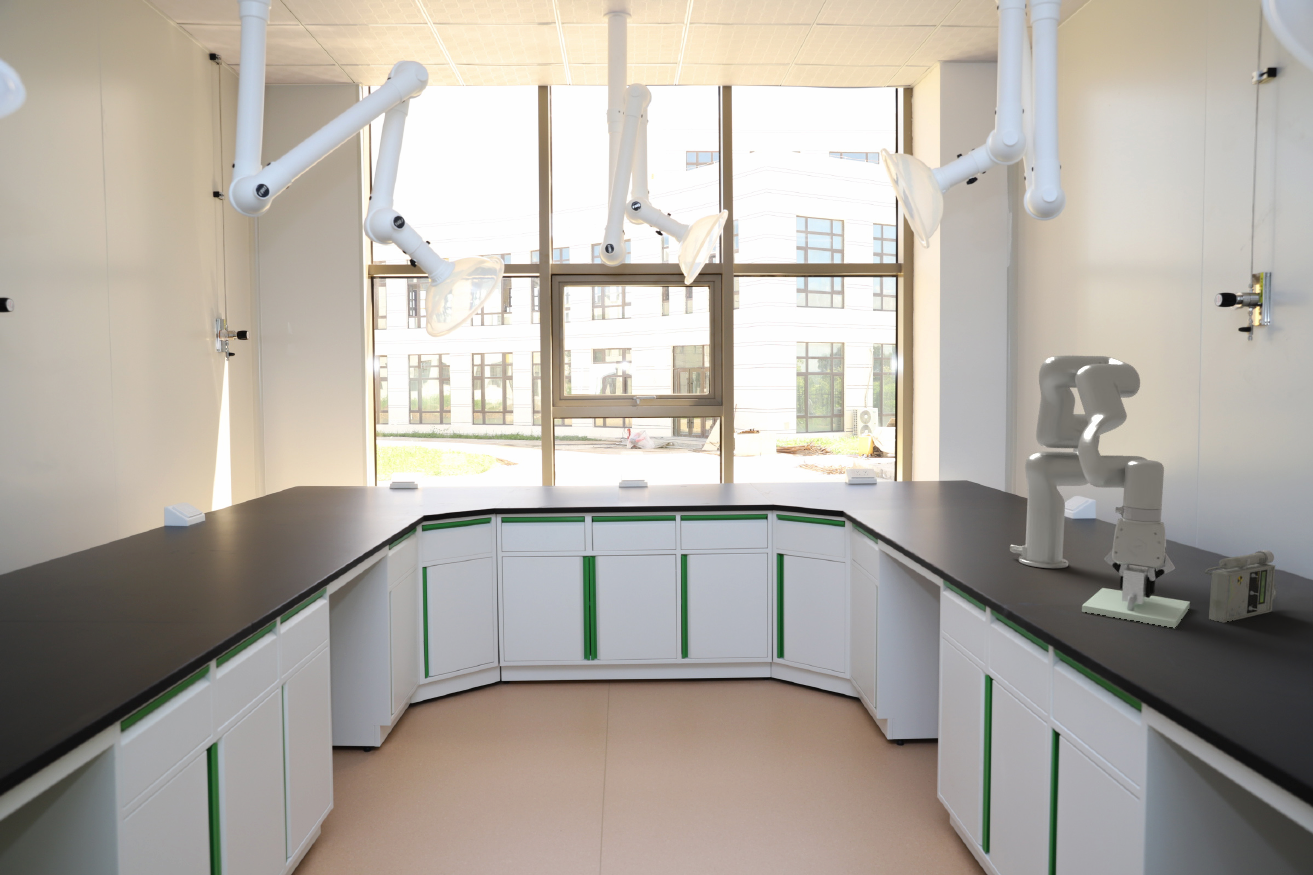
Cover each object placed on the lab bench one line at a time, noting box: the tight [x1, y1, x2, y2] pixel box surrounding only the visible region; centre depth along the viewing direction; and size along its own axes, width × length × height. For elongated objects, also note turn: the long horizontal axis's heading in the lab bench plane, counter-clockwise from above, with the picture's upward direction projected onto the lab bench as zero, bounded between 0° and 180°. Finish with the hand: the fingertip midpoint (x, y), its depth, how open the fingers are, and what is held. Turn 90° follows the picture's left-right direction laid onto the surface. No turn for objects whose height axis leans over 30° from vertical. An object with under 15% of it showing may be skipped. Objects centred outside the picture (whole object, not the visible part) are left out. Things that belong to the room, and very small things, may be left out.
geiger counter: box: [1204, 549, 1278, 624], centre depth 186 cm, size 14×6×25 cm
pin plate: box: [1081, 587, 1191, 629], centre depth 188 cm, size 18×20×4 cm
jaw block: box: [1121, 565, 1149, 604], centre depth 187 cm, size 4×10×7 cm, turn 140°
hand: (1136, 593), depth 187 cm, fingers closed on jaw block, 4 cm apart
